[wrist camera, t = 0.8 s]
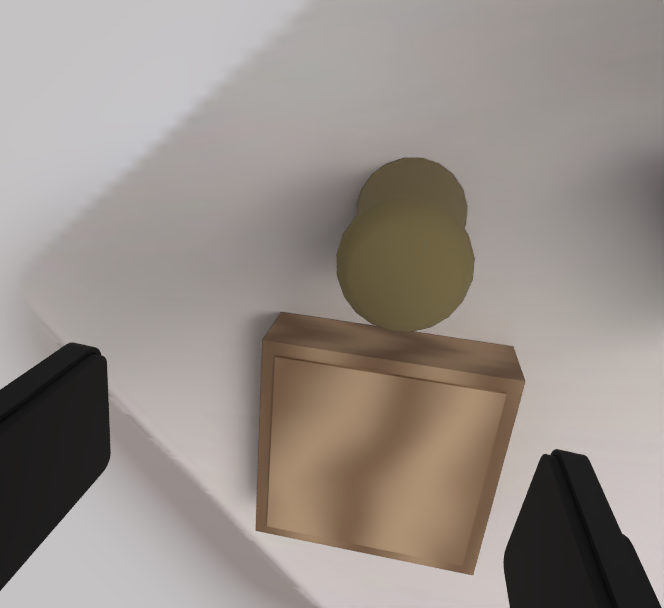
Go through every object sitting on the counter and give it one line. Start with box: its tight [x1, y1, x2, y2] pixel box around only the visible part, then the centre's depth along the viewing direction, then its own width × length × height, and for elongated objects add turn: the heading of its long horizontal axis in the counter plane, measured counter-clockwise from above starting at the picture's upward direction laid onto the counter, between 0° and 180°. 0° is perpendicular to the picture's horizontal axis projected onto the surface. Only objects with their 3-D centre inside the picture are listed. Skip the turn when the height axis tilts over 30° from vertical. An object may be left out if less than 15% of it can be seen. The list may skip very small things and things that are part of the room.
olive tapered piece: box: [337, 158, 475, 332], centre depth 23 cm, size 6×6×11 cm
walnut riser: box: [256, 312, 525, 575], centre depth 31 cm, size 14×14×4 cm
